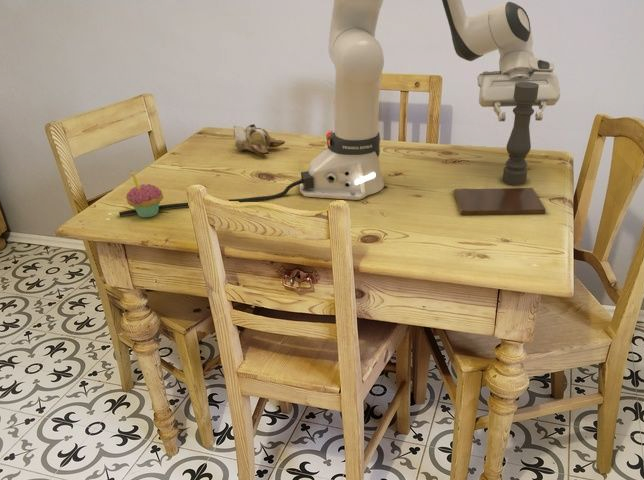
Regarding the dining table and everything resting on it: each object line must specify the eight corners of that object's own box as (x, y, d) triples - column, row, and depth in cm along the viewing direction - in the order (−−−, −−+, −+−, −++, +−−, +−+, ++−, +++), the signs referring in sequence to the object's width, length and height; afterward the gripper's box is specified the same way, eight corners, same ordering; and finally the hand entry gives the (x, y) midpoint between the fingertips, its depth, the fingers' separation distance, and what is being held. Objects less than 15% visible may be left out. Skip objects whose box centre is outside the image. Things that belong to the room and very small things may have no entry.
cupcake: (147, 223, 145) (136, 176, 138) (123, 216, 149) (111, 169, 142) (173, 210, 151) (163, 164, 144) (149, 203, 155) (139, 158, 148)
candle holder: (526, 186, 158) (540, 88, 145) (502, 184, 160) (514, 87, 146) (525, 177, 163) (539, 82, 150) (502, 175, 165) (513, 81, 151)
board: (461, 215, 145) (461, 210, 144) (454, 193, 156) (454, 189, 155) (544, 213, 144) (545, 209, 144) (531, 192, 155) (532, 187, 155)
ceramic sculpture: (243, 115, 187) (285, 123, 182) (245, 142, 192) (286, 151, 187) (223, 125, 179) (266, 134, 174) (226, 153, 184) (268, 163, 179)
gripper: (479, 64, 154) (482, 114, 151) (559, 63, 153) (564, 112, 151) (474, 78, 160) (477, 126, 157) (552, 76, 160) (556, 125, 157)
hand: (520, 119), depth 154 cm, fingers open, 8 cm apart
